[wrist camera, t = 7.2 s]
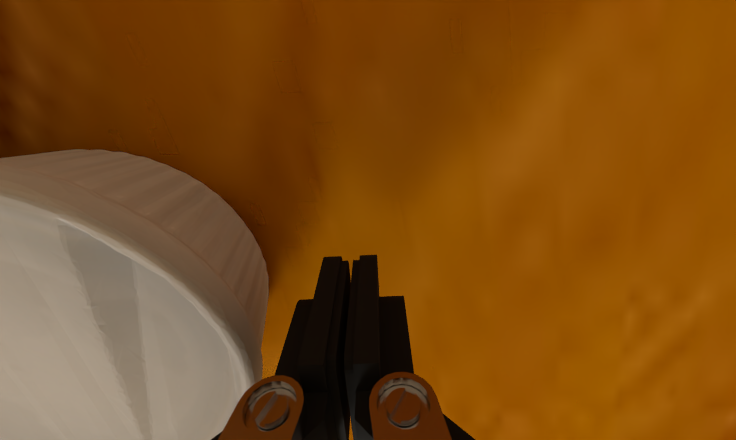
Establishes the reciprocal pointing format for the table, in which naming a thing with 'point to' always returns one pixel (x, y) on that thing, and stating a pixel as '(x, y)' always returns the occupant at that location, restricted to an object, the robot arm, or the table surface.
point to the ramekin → (123, 300)
